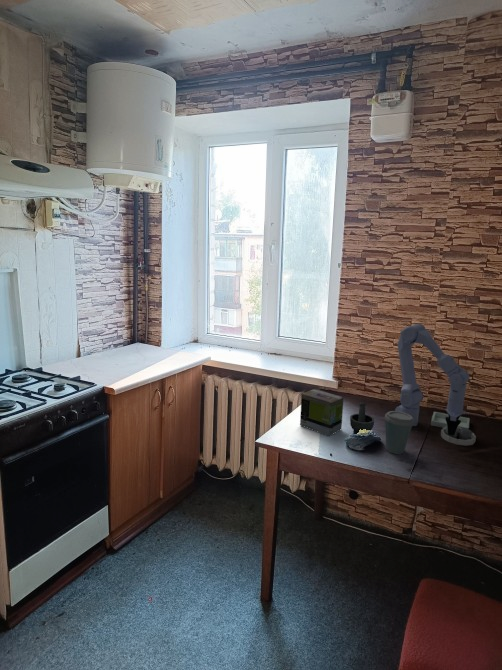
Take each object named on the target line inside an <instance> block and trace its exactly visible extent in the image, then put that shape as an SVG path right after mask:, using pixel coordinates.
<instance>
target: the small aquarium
mask: <svg viewBox="0 0 502 670" xmlns="http://www.w3.org/2000/svg"><path fill="white" fill-rule="evenodd" d="M300 398H301V399H300V400H301V401H300V421H299V422H300V423H299V426H300V425H302V426H301V427H303V426H305V427H308V428H310V429H309V430H311V429H313V430H312V431H314V430H315V431H314V432H317V431H318V432H317V433H319V432H321V433H320V434H322V433H323V434H322V435H325V434H326V435H325V436H327V435H328V436H327V437H331V436H333V435H334V434H336V433H337V431H338V430H339V431H341V430H342V423H343V412H344V411H343V409H344V396H341V395H337V394H333V393H330V392H327V391H324V390H320V389H317V388H313V389H311V390H308V391H306V392H304V393H301V397H300ZM305 427H304V428H305ZM308 428H307V429H308ZM340 429H341V430H340ZM339 431H338V432H339ZM335 432H336V433H335ZM333 433H334V434H333ZM332 434H333V435H332ZM330 435H331V436H330Z"/></svg>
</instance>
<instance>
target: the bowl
mask: <svg viewBox="0 0 502 670" xmlns="http://www.w3.org/2000/svg"><path fill="white" fill-rule="evenodd" d="M457 428H458V427H457ZM460 429H462V428H458V434H459V433H460ZM440 436H441V438H442V440H445V441H446V442H448V443H451V444H454V445H458V446H465V447H466V446H473V445H474V444H475V442H476V439H477V436H476V434H475V433H474V432H472V436H471V439H469V440H462V439H459V438H457V439H456V438H453V437H450V436H448V435H446V427H445V428H441V430H440Z"/></svg>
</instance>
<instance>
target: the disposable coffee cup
mask: <svg viewBox="0 0 502 670" xmlns="http://www.w3.org/2000/svg"><path fill="white" fill-rule="evenodd" d="M384 420H385V423H384V424H385V426H384V427H385V449H386V451H388V453H391V454H393V453H394V454H395V455H402V454H404V452H405V450H406V446H407V443H408V440H409V436H410V435H411V430H412V428H413V426H412V425H413V424H414V419H413V417H412V416H411V415H409V414H407V413H404V412H399V411H395V410H391V411H387V412H386V413H385V415H384ZM401 453H402V454H401Z"/></svg>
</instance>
